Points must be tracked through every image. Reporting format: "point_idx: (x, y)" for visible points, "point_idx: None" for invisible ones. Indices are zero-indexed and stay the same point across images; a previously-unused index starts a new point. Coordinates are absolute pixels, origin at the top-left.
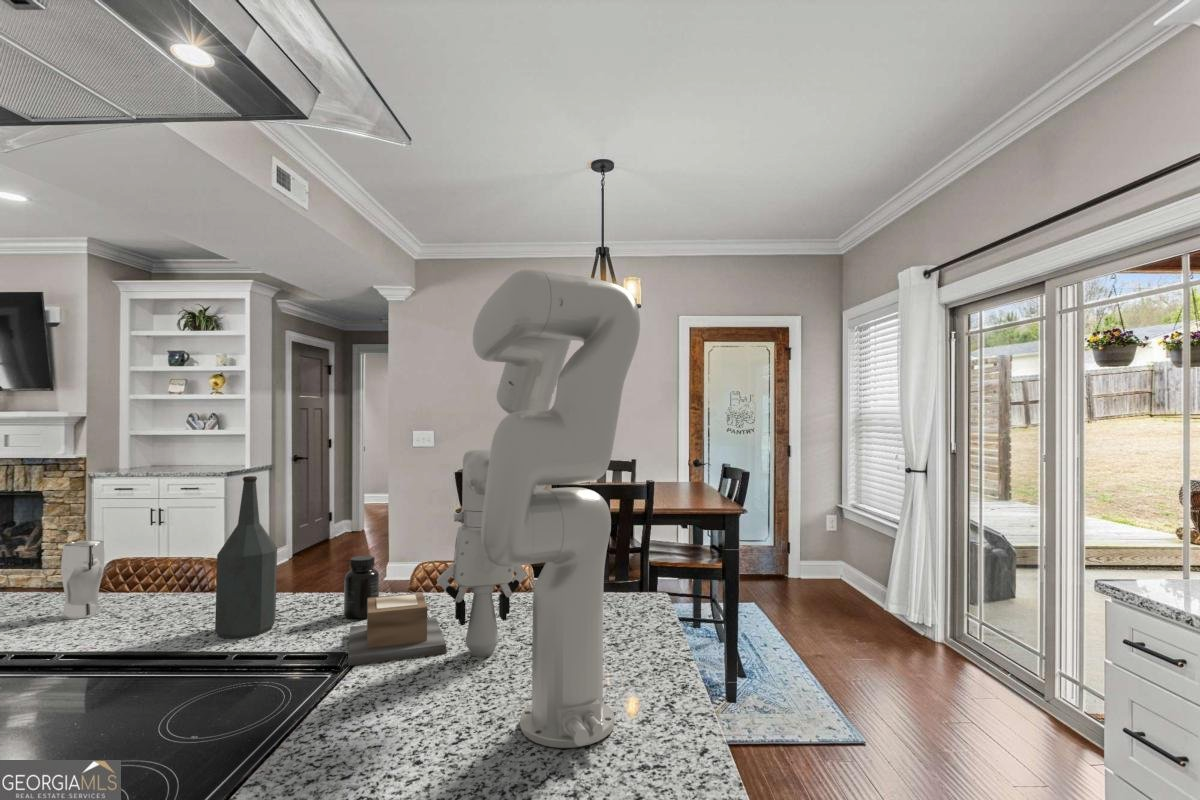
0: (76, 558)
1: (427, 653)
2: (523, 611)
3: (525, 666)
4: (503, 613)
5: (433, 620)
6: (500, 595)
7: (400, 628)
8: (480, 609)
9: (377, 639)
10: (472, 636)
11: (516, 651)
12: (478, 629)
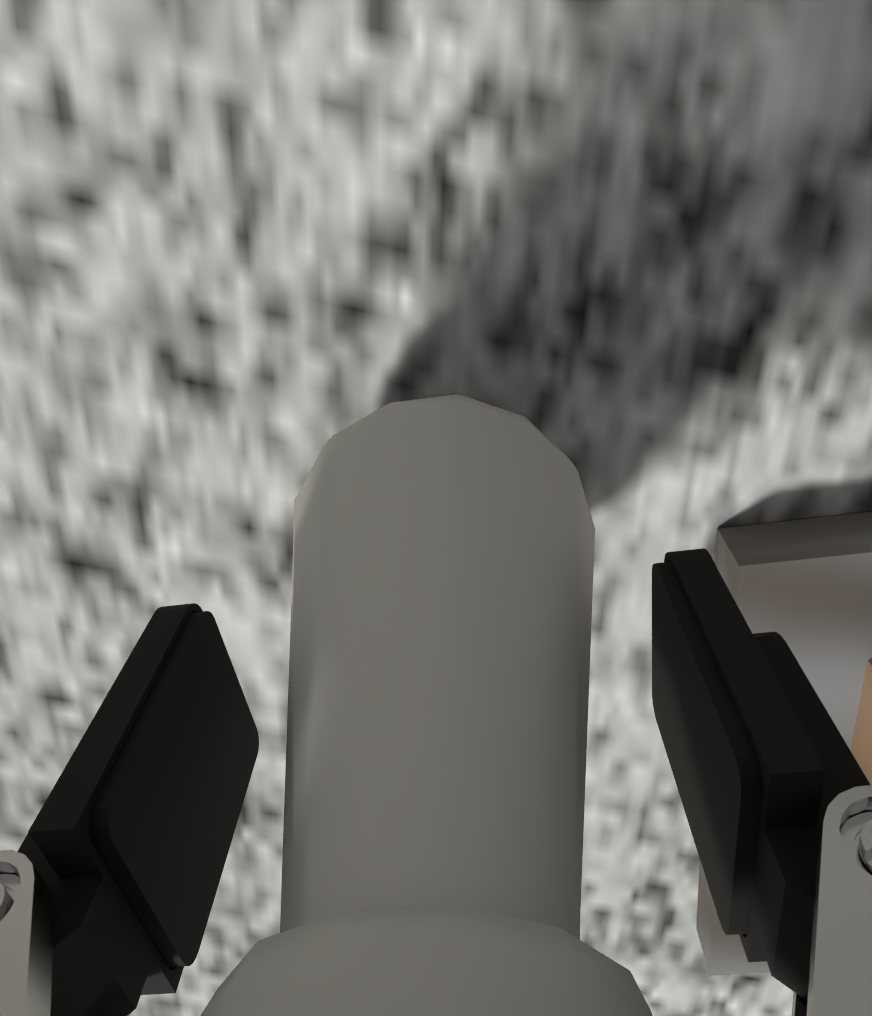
0: None
1: (869, 521)
2: (193, 994)
3: (46, 79)
4: (170, 660)
5: (735, 943)
6: (166, 947)
7: None
8: (472, 680)
9: None
10: (547, 479)
11: (173, 451)
12: (490, 500)
